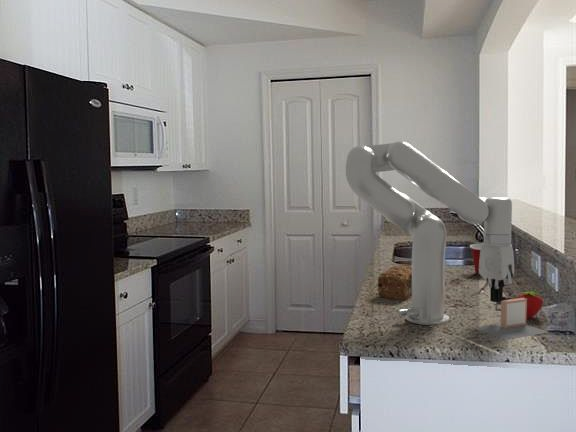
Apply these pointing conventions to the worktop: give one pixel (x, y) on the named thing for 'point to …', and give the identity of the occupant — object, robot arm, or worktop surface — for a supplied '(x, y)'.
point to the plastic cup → (476, 255)
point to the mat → (510, 331)
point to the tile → (513, 312)
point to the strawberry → (532, 303)
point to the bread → (396, 282)
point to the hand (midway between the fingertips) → (496, 301)
